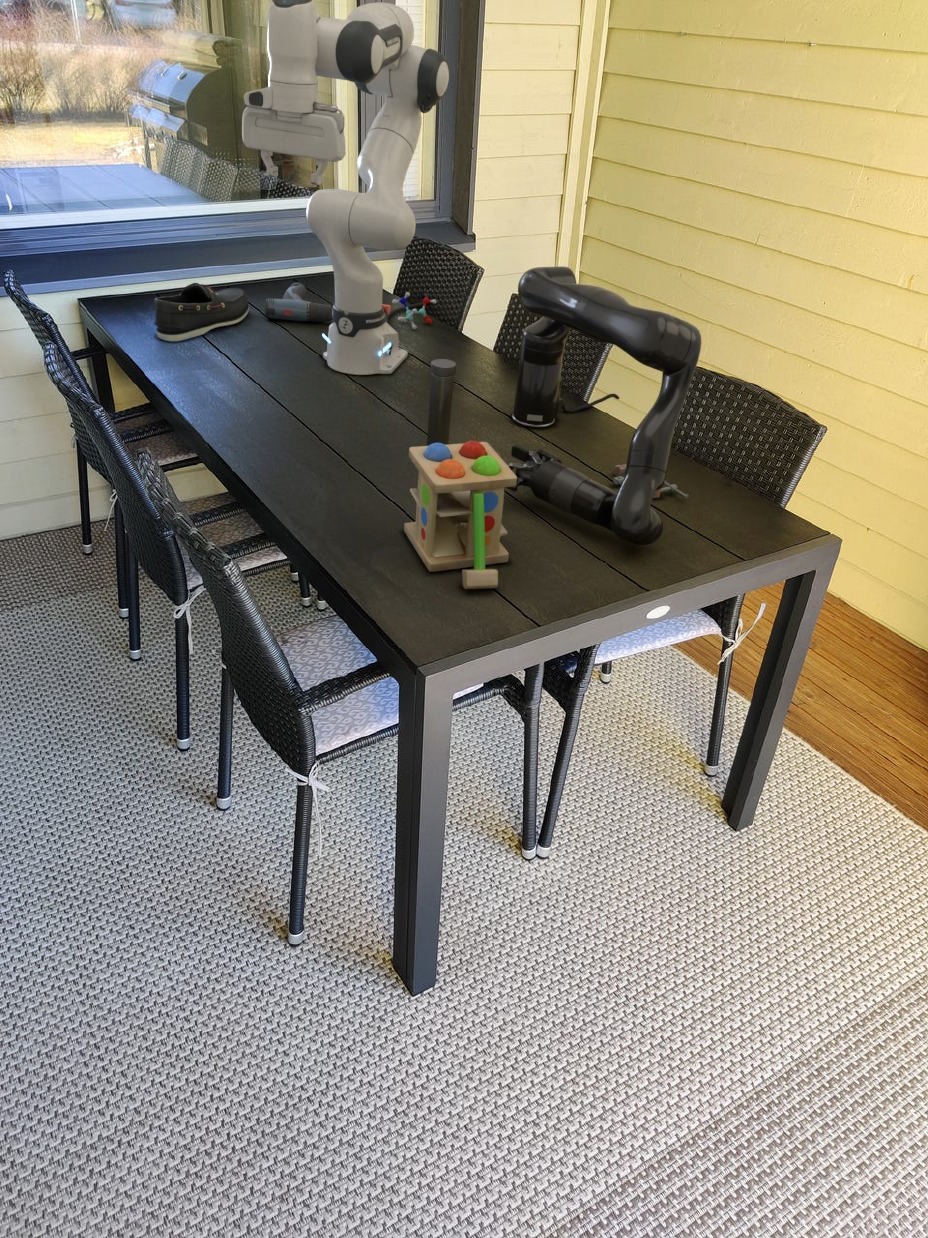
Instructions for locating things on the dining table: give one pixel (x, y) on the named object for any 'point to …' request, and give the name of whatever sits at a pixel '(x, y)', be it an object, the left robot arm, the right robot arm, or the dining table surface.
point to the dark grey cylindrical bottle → (440, 409)
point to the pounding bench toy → (460, 509)
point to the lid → (443, 367)
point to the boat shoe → (198, 311)
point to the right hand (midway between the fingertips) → (497, 455)
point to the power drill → (297, 306)
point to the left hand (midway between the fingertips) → (294, 180)
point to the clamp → (621, 474)
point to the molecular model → (414, 310)
